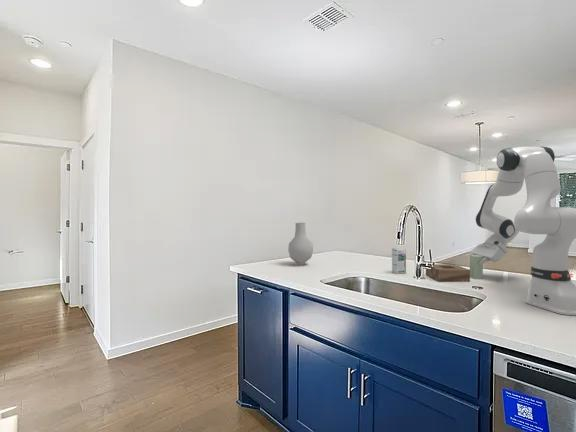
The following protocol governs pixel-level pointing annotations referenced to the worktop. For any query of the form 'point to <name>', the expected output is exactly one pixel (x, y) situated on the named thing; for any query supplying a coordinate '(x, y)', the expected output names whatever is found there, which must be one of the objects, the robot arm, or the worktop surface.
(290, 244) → the vase
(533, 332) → the worktop surface
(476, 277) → the peg
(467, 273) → the well block
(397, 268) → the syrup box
